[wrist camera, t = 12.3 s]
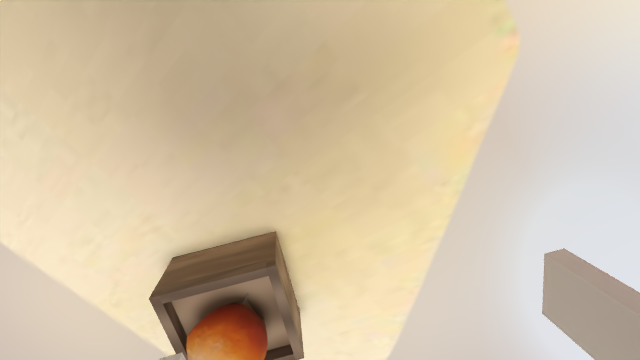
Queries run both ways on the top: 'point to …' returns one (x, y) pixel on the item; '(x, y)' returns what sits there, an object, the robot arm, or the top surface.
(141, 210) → the top surface
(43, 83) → the top surface
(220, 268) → the open wooden box
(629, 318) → the robot arm
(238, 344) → the fruit
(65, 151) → the top surface
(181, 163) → the top surface
